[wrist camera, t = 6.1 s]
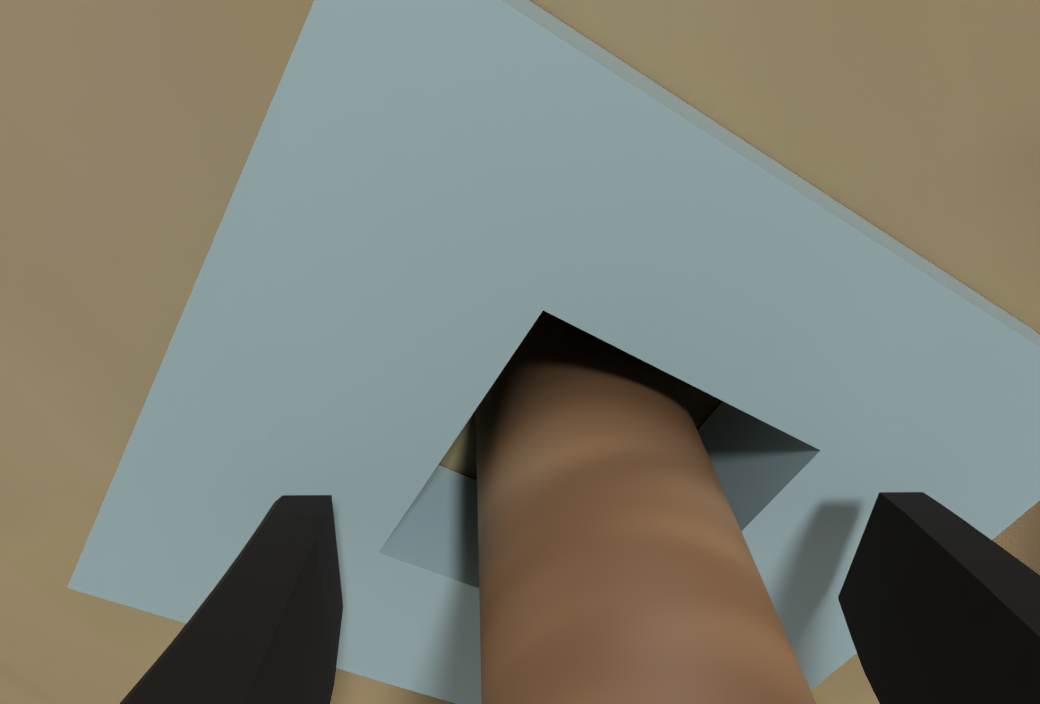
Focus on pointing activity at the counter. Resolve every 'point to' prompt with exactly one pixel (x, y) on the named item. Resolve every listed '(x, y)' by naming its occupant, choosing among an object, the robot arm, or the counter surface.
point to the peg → (612, 542)
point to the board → (510, 315)
